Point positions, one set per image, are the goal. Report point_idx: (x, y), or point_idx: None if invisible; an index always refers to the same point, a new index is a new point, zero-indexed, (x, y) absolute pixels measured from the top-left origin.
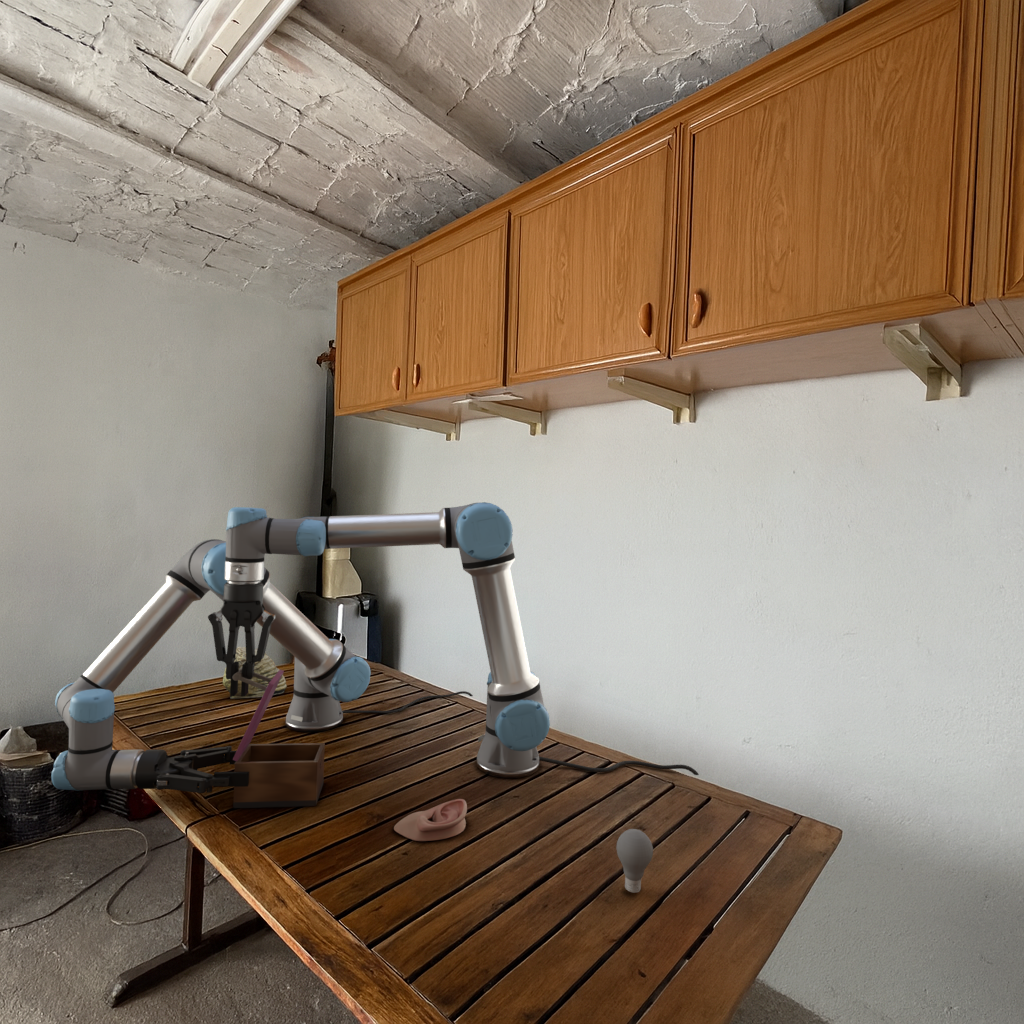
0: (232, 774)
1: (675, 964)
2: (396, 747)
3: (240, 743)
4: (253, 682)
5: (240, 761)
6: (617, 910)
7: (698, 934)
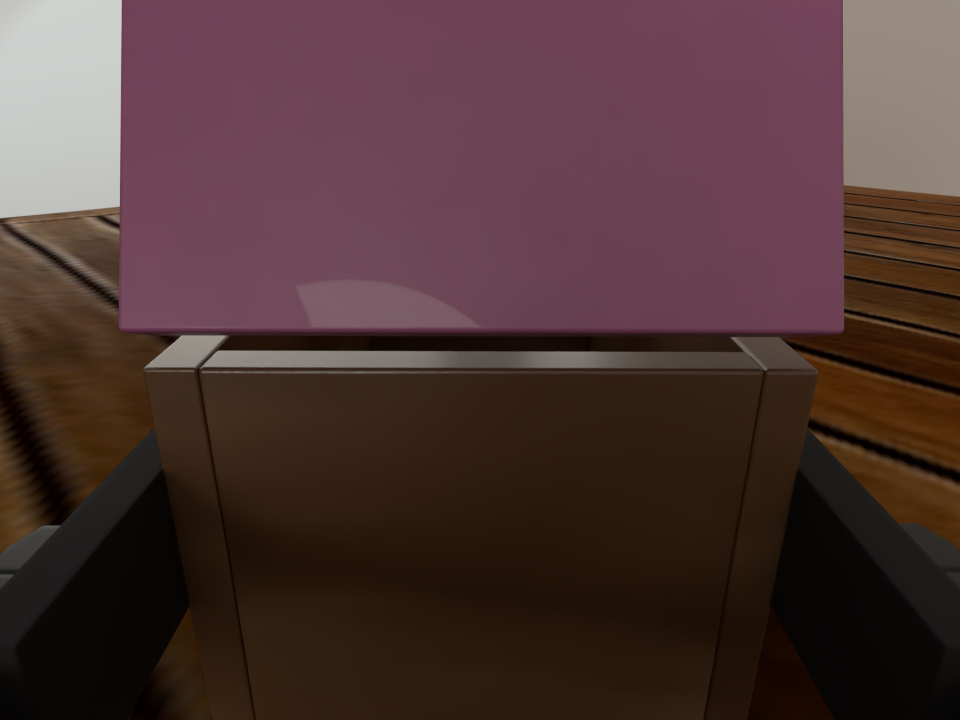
0: (849, 486)
1: (934, 203)
2: (73, 309)
3: (841, 75)
4: None
5: (721, 356)
6: (852, 209)
7: (860, 195)
